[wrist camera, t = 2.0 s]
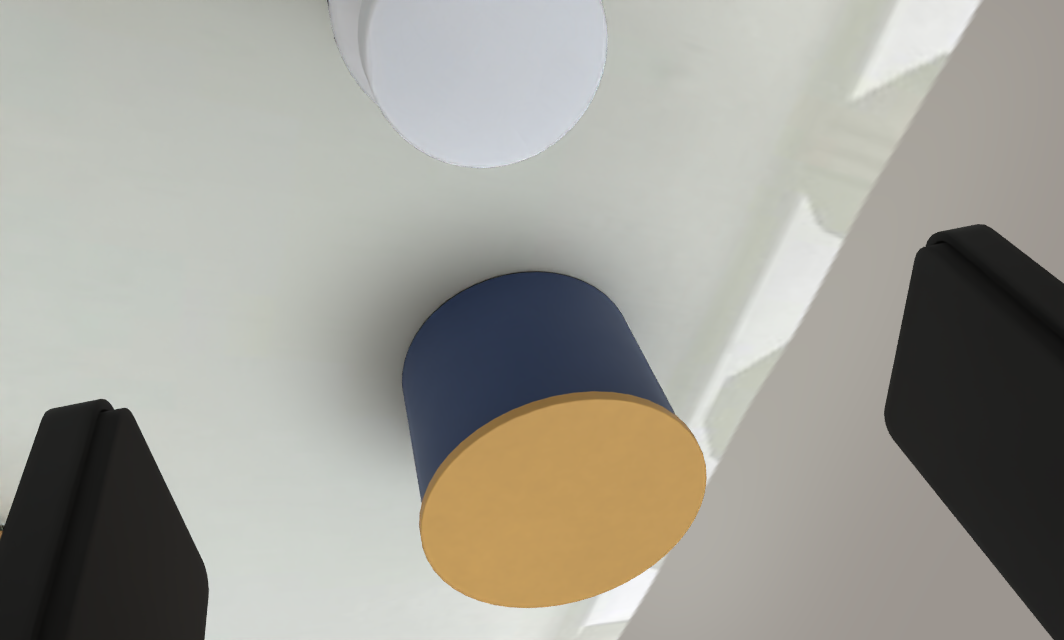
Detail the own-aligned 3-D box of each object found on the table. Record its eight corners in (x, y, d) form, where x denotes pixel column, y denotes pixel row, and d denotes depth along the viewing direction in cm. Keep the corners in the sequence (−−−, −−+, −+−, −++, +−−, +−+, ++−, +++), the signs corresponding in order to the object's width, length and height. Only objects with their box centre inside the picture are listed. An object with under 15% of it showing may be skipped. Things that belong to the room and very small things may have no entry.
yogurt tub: (373, 296, 31) (393, 441, 25) (632, 243, 32) (710, 369, 26) (420, 482, 36) (446, 635, 31) (638, 431, 38) (703, 569, 32)
